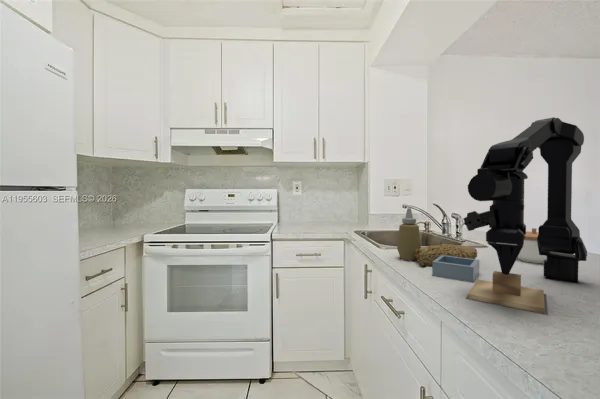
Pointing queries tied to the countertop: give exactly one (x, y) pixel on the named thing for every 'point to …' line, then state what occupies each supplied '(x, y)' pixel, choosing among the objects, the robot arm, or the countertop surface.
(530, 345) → the countertop surface
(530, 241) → the lidded bowl
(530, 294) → the oak lid
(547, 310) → the rubber mat
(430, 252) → the sponge
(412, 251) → the squeeze bottle
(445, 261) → the ceramic dish
